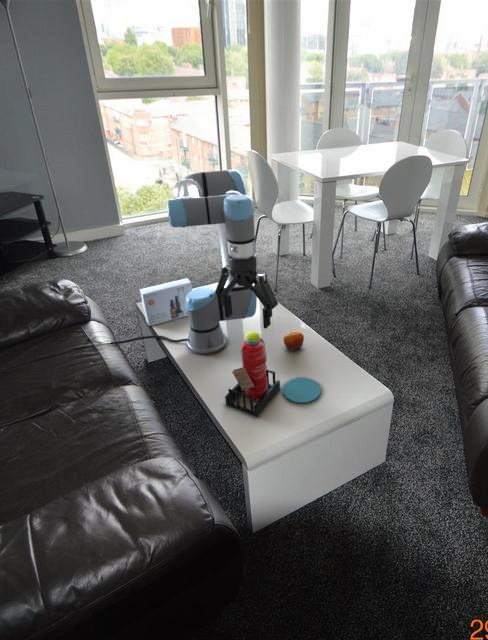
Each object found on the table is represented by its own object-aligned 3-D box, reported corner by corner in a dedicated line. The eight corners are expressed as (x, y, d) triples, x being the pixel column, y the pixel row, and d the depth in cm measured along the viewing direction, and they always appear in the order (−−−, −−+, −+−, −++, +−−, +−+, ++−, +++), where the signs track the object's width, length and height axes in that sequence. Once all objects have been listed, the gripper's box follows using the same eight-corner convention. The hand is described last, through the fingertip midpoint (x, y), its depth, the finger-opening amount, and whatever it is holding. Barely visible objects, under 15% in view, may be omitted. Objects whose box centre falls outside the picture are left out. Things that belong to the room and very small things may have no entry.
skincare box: (149, 327, 188) (142, 294, 179) (146, 321, 192) (138, 288, 183) (196, 314, 197) (191, 281, 188) (192, 308, 200) (187, 277, 192)
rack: (226, 405, 146) (223, 388, 142) (251, 379, 157) (249, 363, 153) (256, 417, 141) (255, 400, 137) (280, 389, 152) (279, 372, 148)
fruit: (291, 353, 167) (286, 333, 167) (284, 353, 175) (278, 334, 174) (310, 348, 170) (305, 328, 170) (301, 348, 178) (296, 328, 177)
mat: (276, 396, 150) (276, 394, 149) (294, 375, 159) (294, 373, 159) (310, 408, 144) (310, 407, 144) (326, 385, 154) (326, 384, 153)
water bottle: (245, 411, 144) (239, 348, 130) (232, 398, 149) (225, 337, 135) (274, 395, 150) (272, 334, 136) (261, 384, 155) (257, 323, 141)
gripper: (197, 251, 123) (206, 317, 134) (274, 268, 113) (277, 337, 124) (213, 242, 128) (221, 306, 140) (288, 257, 118) (290, 324, 130)
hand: (247, 321), depth 132 cm, fingers open, 13 cm apart
